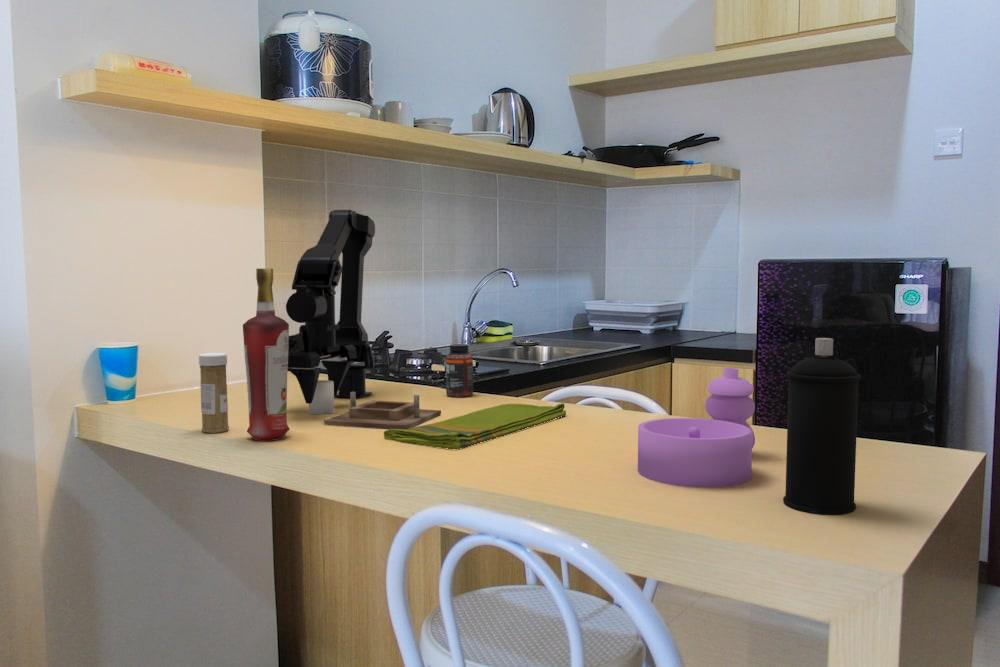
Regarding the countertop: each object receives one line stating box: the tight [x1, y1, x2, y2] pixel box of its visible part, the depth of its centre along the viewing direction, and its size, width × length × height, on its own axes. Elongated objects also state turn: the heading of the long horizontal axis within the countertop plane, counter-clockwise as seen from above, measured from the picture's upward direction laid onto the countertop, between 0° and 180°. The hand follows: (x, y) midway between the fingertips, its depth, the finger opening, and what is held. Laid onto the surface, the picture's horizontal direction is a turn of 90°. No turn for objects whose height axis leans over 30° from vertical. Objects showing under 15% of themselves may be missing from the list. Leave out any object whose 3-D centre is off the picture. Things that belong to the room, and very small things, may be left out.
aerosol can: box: [782, 337, 862, 515], centre depth 100 cm, size 8×8×20 cm
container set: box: [637, 367, 756, 488], centre depth 120 cm, size 25×15×13 cm, turn 145°
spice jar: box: [198, 352, 230, 434], centre depth 145 cm, size 5×5×14 cm
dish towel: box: [383, 402, 567, 450], centre depth 149 cm, size 15×36×3 cm, turn 146°
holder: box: [324, 392, 442, 430], centre depth 156 cm, size 16×16×5 cm
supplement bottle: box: [445, 343, 474, 398], centre depth 184 cm, size 6×6×11 cm
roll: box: [308, 379, 335, 416], centre depth 163 cm, size 5×5×6 cm
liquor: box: [242, 268, 290, 442], centre depth 138 cm, size 7×7×28 cm
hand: (321, 399), depth 163 cm, fingers open, 9 cm apart
